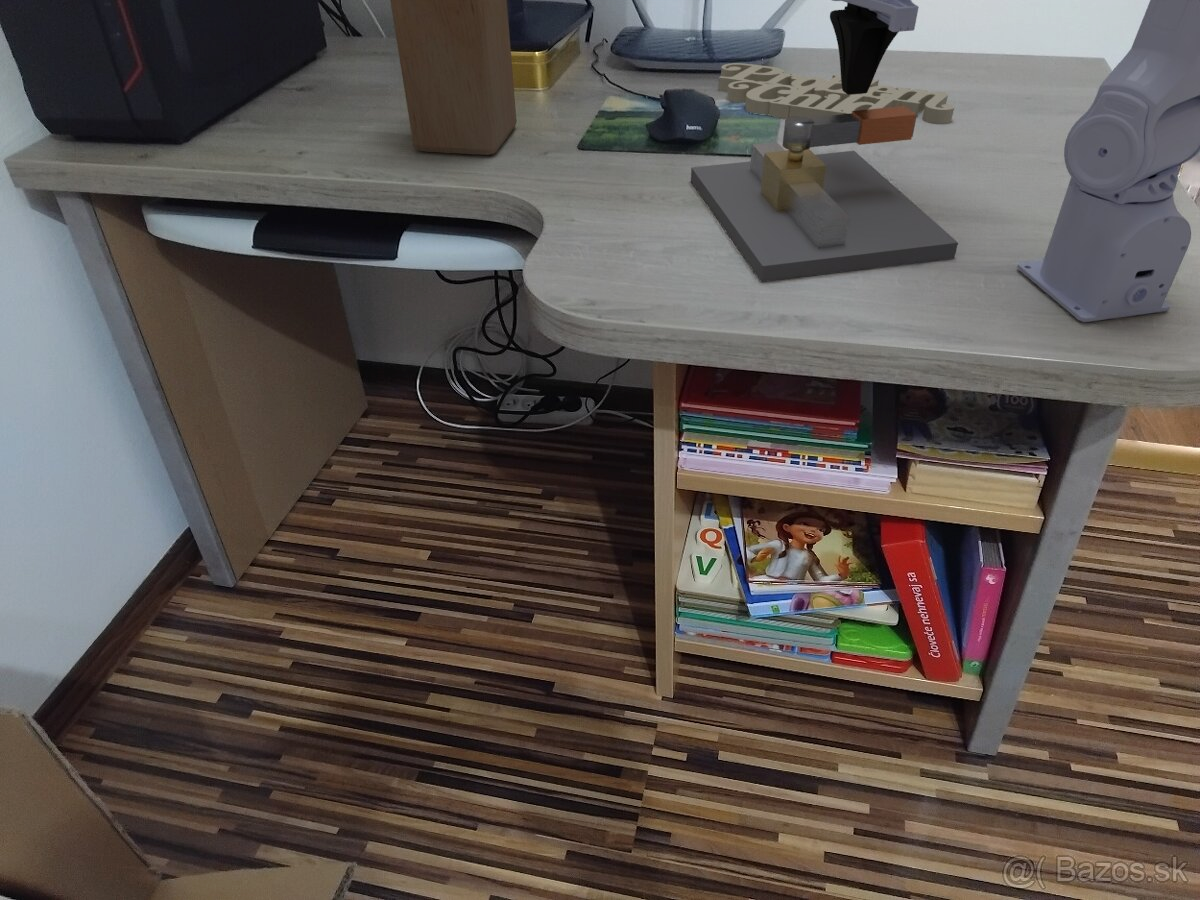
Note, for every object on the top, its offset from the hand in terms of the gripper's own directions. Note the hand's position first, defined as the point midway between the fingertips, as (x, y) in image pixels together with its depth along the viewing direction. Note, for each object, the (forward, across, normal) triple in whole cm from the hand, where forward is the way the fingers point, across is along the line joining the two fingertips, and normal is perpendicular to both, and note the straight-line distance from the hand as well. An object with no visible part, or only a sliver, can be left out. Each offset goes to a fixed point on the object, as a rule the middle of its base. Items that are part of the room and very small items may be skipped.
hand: (854, 91), depth 86 cm
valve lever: (+2, +6, -3) cm, 7 cm away
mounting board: (+9, +7, -6) cm, 13 cm away
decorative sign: (+10, -22, +7) cm, 25 cm away
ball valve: (+8, +7, -8) cm, 13 cm away
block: (+9, -22, -37) cm, 44 cm away
